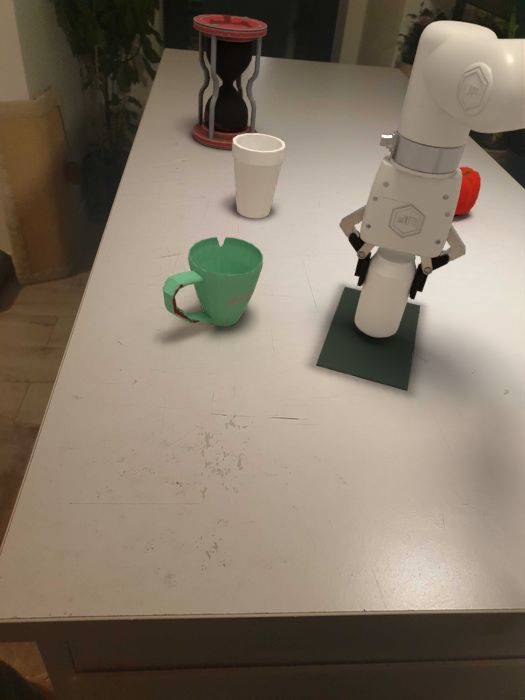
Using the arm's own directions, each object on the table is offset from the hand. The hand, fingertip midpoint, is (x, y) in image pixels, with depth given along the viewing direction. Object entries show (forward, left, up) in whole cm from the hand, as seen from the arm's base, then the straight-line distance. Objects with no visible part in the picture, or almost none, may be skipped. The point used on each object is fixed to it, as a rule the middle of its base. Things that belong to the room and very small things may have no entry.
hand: (386, 286), depth 70 cm
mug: (+21, +10, -8) cm, 25 cm away
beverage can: (0, 0, -7) cm, 7 cm away
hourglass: (+54, -57, -8) cm, 79 cm away
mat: (0, 0, -8) cm, 8 cm away
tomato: (-2, -49, -8) cm, 50 cm away
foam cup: (+31, -25, -8) cm, 41 cm away
